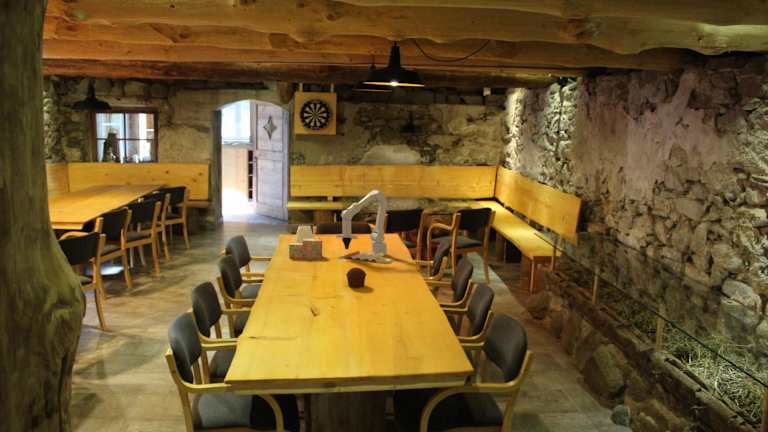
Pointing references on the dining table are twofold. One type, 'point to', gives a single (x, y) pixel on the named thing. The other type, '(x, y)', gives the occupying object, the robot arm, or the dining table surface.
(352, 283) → the muffin
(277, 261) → the dining table surface
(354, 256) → the ivory domino
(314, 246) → the stack of blocks
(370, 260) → the ivory domino
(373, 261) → the domino mat
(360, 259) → the ivory domino
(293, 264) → the dining table surface
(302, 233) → the cup
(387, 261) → the ivory domino
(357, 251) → the red domino
